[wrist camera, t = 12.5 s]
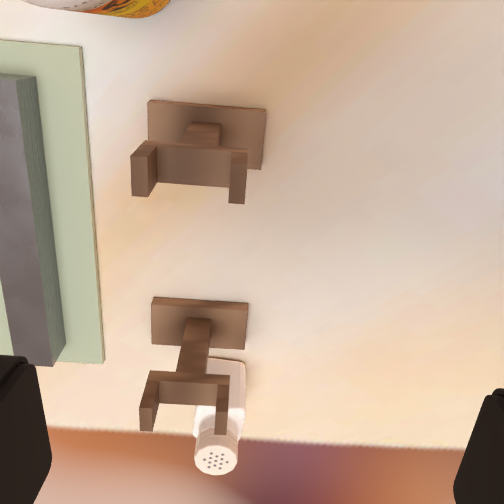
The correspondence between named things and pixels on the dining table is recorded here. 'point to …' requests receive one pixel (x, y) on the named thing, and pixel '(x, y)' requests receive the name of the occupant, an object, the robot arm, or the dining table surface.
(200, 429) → the salt shaker
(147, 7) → the beer can
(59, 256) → the board
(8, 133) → the rail
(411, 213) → the dining table surface
